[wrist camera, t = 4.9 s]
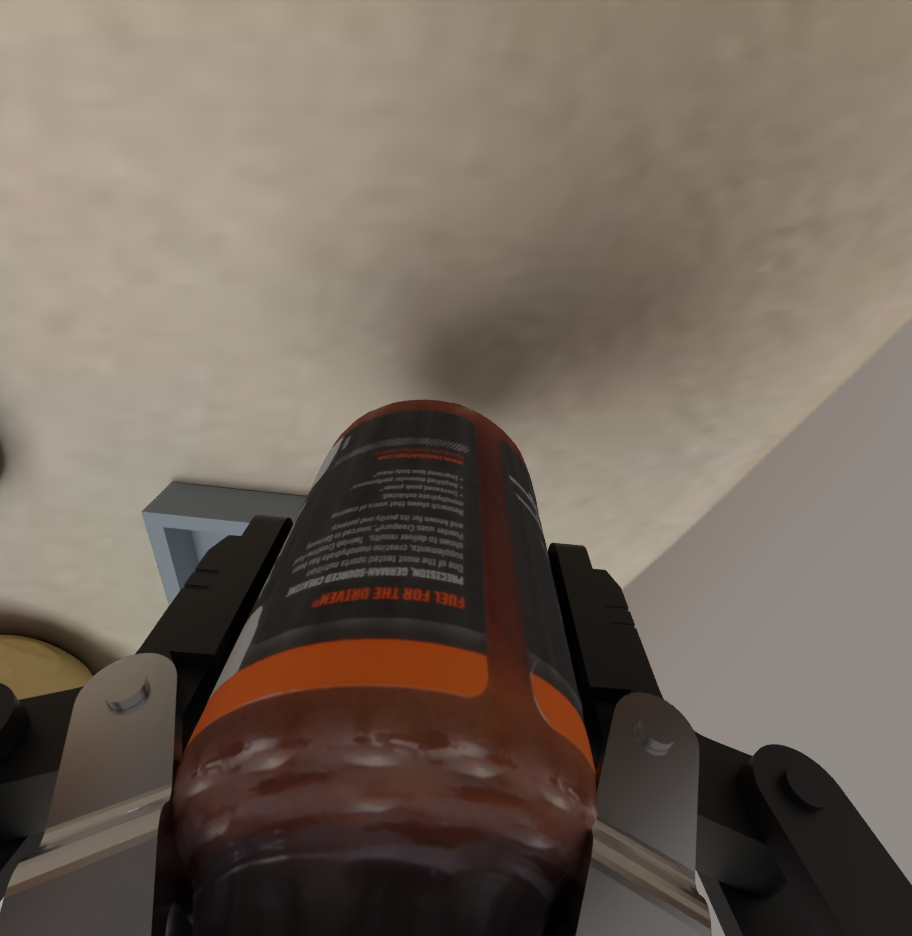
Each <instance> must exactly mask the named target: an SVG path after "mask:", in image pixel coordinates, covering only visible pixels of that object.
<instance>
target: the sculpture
mask: <svg viewBox="0 0 912 936" xmlns="http://www.w3.org/2000/svg"><path fill="white" fill-rule="evenodd" d="M92 677H93V676H92V674H91V672H90V671H89V670H88V668H87V667H86V666H85V665H84V664H83V663H81V662H80V661H79V660H78V659H76V658H75V657H74V656H72V655H70V654H69V653H67V652H65V651H63V650H62V649H60V648H58V647H55V646H53V645H51V644H48V643H46V642H43V641H40V640H36V639H33V638H29V637H24V636H17V635H0V683H1V684H4V685H6V686H8V687H9V688H10V689H11V690H12V692H13V693H14V694H15V696H16V697H17V699H18V700H20V699H25V698H30V697H35V696H40V695H45V694H50V693H55V692H60V691H64V690H69V689H74V688H78V687H82V686H85V684H86V683H87V682H88V681H89V680H90V679H91V678H92Z"/></svg>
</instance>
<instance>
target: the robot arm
mask: <svg viewBox="0 0 912 936" xmlns="http://www.w3.org/2000/svg"><path fill="white" fill-rule="evenodd" d="M292 526H293V522H292V519H291V518H289V517H278V516H267V515H255V516H254V517H253V518H252V520H251V521H250V523H249V525H248V526H247V528H246V529H245V531H244V532H243V534H242V536H235V535H228V536H227V537H225V538H224V539H222V540H221V541H220V542H218V543H217V544H216V545H214V546H213V547H212V548H210V549H209V550H208V551H207V552H206V554H205V555H204V557H203V558H202V560H201V561H200V562H199V564H198V565H197V567H196V568H195V572H192V574H191V575H190V577H189V578H188V580H187V581H186V583H185V584H184V588H181V590H180V591H179V593H178V594H177V595H176V597H175V598H174V600H173V601H172V603H171V604H170V606H169V607H168V608H167V610H166V611H165V613H164V614H163V616H162V617H161V618H160V620H159V621H158V623H157V624H156V626H155V627H154V629H153V630H152V631H151V633H150V634H149V636H148V637H147V639H146V640H145V641H144V643H143V644H142V646H141V647H140V649H139V650H138V651H137V652H136V654H135V655H131V656H128V657H125V658H122V659H120V660H118V661H115V662H113V663H112V664H110V665H108V666H106V667H105V668H103V669H102V670H100V671H99V672H98V673H97V674H95V675H94V676H93V677H92V678H91V679H90V680H89V681H88V682H87V683H86V684H85V686H82V687H78V688H74V689H69V690H64V691H60V692H55V693H50V694H45V695H40V696H35V697H30V698H25V699H20V700H18V699H17V697H16V696H15V694H14V693H13V692H12V690H11V689H10V688H9V687H8V686H6V685H4V684H1V683H0V901H1V900H2V899H3V897H4V900H3V904H2V907H1V911H0V936H193V886H192V882H191V881H190V880H189V878H188V877H187V875H186V872H185V870H184V868H183V865H182V862H181V858H180V854H179V852H178V850H177V846H176V841H175V835H174V827H173V818H172V794H173V785H174V779H175V775H176V771H177V768H178V765H179V763H180V760H181V758H182V755H183V753H184V751H185V749H186V747H187V744H188V742H189V740H190V738H191V736H192V734H193V731H194V729H195V727H196V725H197V723H198V721H199V719H200V718H201V716H202V714H203V712H204V709H205V707H206V705H207V703H208V700H209V698H210V696H211V694H212V692H213V690H214V688H215V686H216V683H217V681H218V679H219V677H220V675H221V673H222V671H223V669H224V667H225V665H226V662H227V660H228V658H229V656H230V654H231V652H232V650H233V648H234V646H235V644H236V642H237V640H238V638H239V636H240V634H241V632H242V630H243V627H244V626H245V624H246V621H247V619H248V616H249V614H250V612H251V610H252V608H253V606H254V604H255V602H256V600H257V598H258V597H259V595H260V593H261V591H262V589H263V587H264V584H265V582H266V580H267V578H268V576H269V574H270V572H271V570H272V568H273V566H274V563H275V561H276V559H277V557H278V555H279V553H280V551H281V549H282V547H283V545H284V542H285V540H286V538H287V536H288V534H289V532H290V530H291V528H292ZM548 557H549V561H550V566H551V570H552V575H553V579H554V583H555V587H556V592H557V597H558V601H559V604H560V609H561V615H562V620H563V625H564V629H565V634H566V638H567V643H568V648H569V651H570V656H571V660H572V665H573V670H574V675H575V679H576V684H577V689H578V693H579V696H580V699H581V702H582V711H583V718H584V725H585V729H586V732H587V736H588V740H589V744H590V748H591V753H592V757H593V762H594V766H595V771H596V776H597V794H596V795H597V818H596V821H595V823H594V825H593V827H592V828H591V830H590V833H589V837H588V840H587V843H586V847H585V850H584V853H583V856H582V859H581V862H580V864H579V866H578V869H577V871H576V874H575V876H574V878H573V880H572V882H571V884H570V886H569V888H568V889H567V891H566V893H565V895H564V896H563V898H562V900H561V902H560V904H559V906H558V908H557V910H556V912H555V915H554V917H553V920H552V922H551V925H550V928H549V932H548V935H547V936H712V935H711V919H710V913H709V909H708V905H707V903H706V901H705V899H704V898H703V897H702V896H701V895H699V893H698V891H697V889H696V884H695V870H696V871H697V872H698V874H699V877H700V879H701V881H702V883H703V886H704V888H705V890H706V893H707V895H708V897H709V899H710V902H711V904H712V906H713V908H714V911H715V913H716V915H717V918H718V920H719V922H720V925H721V927H722V929H723V931H724V934H725V936H912V885H911V884H910V882H909V881H908V880H907V878H906V877H905V876H904V874H903V873H902V871H901V870H900V869H899V867H898V866H897V865H896V863H895V862H894V860H893V859H892V858H891V856H890V855H889V854H888V852H887V851H886V849H885V848H884V847H883V845H882V844H881V843H880V841H879V840H878V838H877V837H876V836H875V834H874V833H873V832H872V830H871V829H870V827H869V826H868V825H867V823H866V822H865V821H864V819H863V818H862V817H861V815H860V814H859V812H858V811H857V810H856V808H855V807H854V806H853V804H852V803H851V802H850V800H849V799H848V797H847V796H846V795H845V794H844V792H843V791H842V789H841V788H840V787H839V785H838V784H837V783H836V781H835V780H834V779H833V778H832V777H831V776H830V775H829V774H828V773H827V772H826V771H825V770H824V769H823V768H822V767H821V766H820V765H819V764H817V763H816V762H815V761H813V760H812V759H810V758H809V757H808V756H806V755H804V754H803V753H801V752H799V751H797V750H795V749H792V748H790V747H787V746H783V745H775V744H774V745H773V744H772V745H766V746H764V747H761V748H760V749H759V750H758V751H757V752H756V753H755V754H754V755H753V756H751V755H748V754H746V753H743V752H740V751H738V750H736V749H733V748H731V747H728V746H725V745H723V744H720V743H718V742H716V741H713V740H711V739H708V738H706V737H704V736H702V735H700V734H698V733H697V732H695V731H694V730H693V729H692V727H691V725H690V723H689V722H688V721H687V719H686V718H685V717H684V716H683V715H682V714H681V712H680V711H678V710H677V709H676V708H675V707H674V706H673V705H671V704H670V703H668V702H667V701H665V700H664V699H663V697H662V695H661V692H660V690H659V687H658V685H657V682H656V679H655V677H654V674H653V671H652V669H651V666H650V664H649V661H648V659H647V656H646V653H645V650H644V648H643V645H642V642H641V640H640V637H639V635H638V632H637V629H636V628H634V625H635V624H634V621H633V619H632V616H631V613H630V612H628V606H627V603H626V600H625V598H624V595H623V592H622V589H621V587H620V586H619V585H618V584H617V583H616V582H615V580H614V579H613V578H612V577H611V576H610V575H609V573H608V572H607V571H606V570H599V569H593V568H592V565H591V562H590V559H589V556H588V553H587V550H586V548H585V547H584V546H582V545H571V544H560V543H551V544H550V546H549V549H548ZM214 936H218V935H214Z"/></svg>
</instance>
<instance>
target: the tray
mask: <svg viewBox="0 0 912 936" xmlns="http://www.w3.org/2000/svg"><path fill="white" fill-rule="evenodd" d="M305 499H306V497H305V496H295V495H286V494H277V493H267V492H258V491H249V490H240V489H230V488H221V487H212V486H202V485H193V484H184V483H174V482H172V483H170V484H169V485H168V486H167V487H166V488H165V489H164V490H163V491H162V492H161V493H160V494H159V495H158V496H157V497H156V498H155V499H154V500H153V501H152V502H151V503H150V504H149V505H148V506H147V507H146V508H145V509H144V510H143V511H142V515H143V518H144V521H145V525H146V528H147V532H148V535H149V539H150V542H151V545H152V549H153V552H154V556H155V559H156V562H157V566H158V569H159V573H160V576H161V580H162V583H163V586H164V590H165V593H166V597H167V600H168V603H169V606H170V604H171V603H172V601H173V600H174V598H175V597H176V595H177V594H178V593H179V591H180V590H181V588H184V584H185V583H186V581H187V580H188V578H189V577H190V575H191V574H192V572H195V568H196V567H197V565H198V564H199V562H200V561H201V560H202V558H203V557H204V555H205V554H206V552H207V551H208V550H209V549H210V548H212V547H213V546H214V545H216V544H217V543H218V542H220V541H221V540H222V539H224V538H225V537H227V536H228V535H235V536H242V534H243V532H244V531H245V529H246V528H247V526H248V525H249V523H250V521H251V520H252V518H253V517H254V516H255V515H267V516H278V517H289V518H291V519H292V522H293V524H294V522H295V520H296V518H297V516H298V514H299V512H300V509H301V507H302V505H303V503H304V501H305Z"/></svg>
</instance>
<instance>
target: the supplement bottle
mask: <svg viewBox="0 0 912 936" xmlns="http://www.w3.org/2000/svg"><path fill="white" fill-rule="evenodd" d="M596 794H597V776H596V771H595V766H594V762H593V757H592V753H591V748H590V744H589V740H588V736H587V732H586V729H585V725H584V718H583V711H582V702H581V699H580V696H579V693H578V689H577V684H576V679H575V675H574V670H573V665H572V660H571V656H570V651H569V648H568V643H567V638H566V634H565V629H564V625H563V620H562V615H561V609H560V604H559V601H558V597H557V592H556V587H555V583H554V579H553V575H552V570H551V566H550V561H549V557H548V551H547V548H546V543H545V539H544V535H543V530H542V526H541V521H540V518H539V513H538V508H537V502H536V498H535V494H534V490H533V486H532V482H531V478H530V475H529V473H528V470H527V467H526V464H525V462H524V459H523V457H522V455H521V452H520V451H519V449H518V448H517V446H516V445H515V444H514V442H513V441H512V440H511V439H510V438H509V436H508V435H507V434H506V433H505V432H504V431H503V430H502V429H501V428H499V427H498V426H497V425H496V424H494V423H493V422H492V421H490V420H489V419H487V418H486V417H484V416H482V415H481V414H479V413H477V412H475V411H473V410H470V409H468V408H466V407H464V406H461V405H459V404H455V403H448V402H443V401H436V400H409V401H402V402H396V403H392V404H389V405H386V406H383V407H380V408H378V409H376V410H373V411H371V412H368V413H367V414H365V415H364V416H362V417H361V418H359V419H358V420H356V421H355V422H354V423H353V424H352V425H351V426H350V427H348V428H347V429H346V430H345V431H344V432H343V433H342V434H341V436H340V437H339V438H338V440H337V441H336V442H335V444H334V445H333V447H332V449H331V450H330V452H329V453H328V455H327V457H326V458H325V460H324V462H323V464H322V466H321V468H320V470H319V473H318V475H317V477H316V479H315V481H314V483H313V485H312V487H311V489H310V491H309V493H308V495H307V497H306V499H305V501H304V503H303V505H302V507H301V509H300V512H299V514H298V516H297V518H296V520H295V522H294V524H293V526H292V528H291V530H290V532H289V534H288V536H287V538H286V540H285V542H284V545H283V547H282V549H281V551H280V553H279V555H278V557H277V559H276V561H275V563H274V566H273V568H272V570H271V572H270V574H269V576H268V578H267V580H266V582H265V584H264V587H263V589H262V591H261V593H260V595H259V597H258V598H257V600H256V602H255V604H254V606H253V608H252V610H251V612H250V614H249V616H248V619H247V621H246V624H245V626H244V627H243V630H242V632H241V634H240V636H239V638H238V640H237V642H236V644H235V646H234V648H233V650H232V652H231V654H230V656H229V658H228V660H227V662H226V665H225V667H224V669H223V671H222V673H221V675H220V677H219V679H218V681H217V683H216V686H215V688H214V690H213V692H212V694H211V696H210V698H209V700H208V703H207V705H206V707H205V709H204V712H203V714H202V716H201V718H200V719H199V721H198V723H197V725H196V727H195V729H194V731H193V734H192V736H191V738H190V740H189V742H188V744H187V747H186V749H185V751H184V753H183V755H182V758H181V760H180V763H179V765H178V768H177V771H176V775H175V779H174V785H173V794H172V818H173V827H174V835H175V841H176V846H177V850H178V852H179V854H180V858H181V862H182V865H183V868H184V870H185V872H186V875H187V877H188V878H189V880H190V881H191V882H192V886H193V936H214V935H218V936H547V935H548V932H549V928H550V925H551V922H552V920H553V917H554V915H555V912H556V910H557V908H558V906H559V904H560V902H561V900H562V898H563V896H564V895H565V893H566V891H567V889H568V888H569V886H570V884H571V882H572V880H573V878H574V876H575V874H576V871H577V869H578V866H579V864H580V862H581V859H582V856H583V853H584V850H585V847H586V843H587V840H588V837H589V833H590V830H591V828H592V827H593V825H594V823H595V821H596V818H597V795H596Z"/></svg>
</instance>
